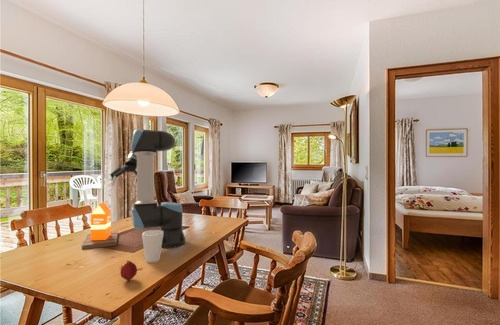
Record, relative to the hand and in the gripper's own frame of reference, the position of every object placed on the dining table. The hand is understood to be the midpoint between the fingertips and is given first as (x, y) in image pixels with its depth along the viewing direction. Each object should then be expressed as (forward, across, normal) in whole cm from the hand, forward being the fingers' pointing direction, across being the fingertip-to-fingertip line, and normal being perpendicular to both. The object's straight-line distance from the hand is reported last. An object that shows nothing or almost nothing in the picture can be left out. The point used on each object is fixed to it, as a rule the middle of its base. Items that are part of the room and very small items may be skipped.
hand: (123, 184), depth 158 cm
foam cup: (+53, -30, +8) cm, 61 cm away
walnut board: (+32, +6, -12) cm, 35 cm away
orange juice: (+30, +7, -11) cm, 33 cm away
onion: (+67, -27, +22) cm, 76 cm away
